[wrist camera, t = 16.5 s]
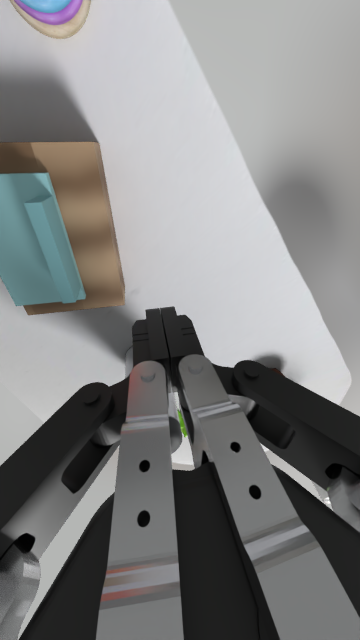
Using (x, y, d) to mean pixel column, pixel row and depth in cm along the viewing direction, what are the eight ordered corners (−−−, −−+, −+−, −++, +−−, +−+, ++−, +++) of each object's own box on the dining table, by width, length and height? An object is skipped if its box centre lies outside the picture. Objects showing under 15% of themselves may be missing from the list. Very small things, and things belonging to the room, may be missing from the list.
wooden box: (124, 286, 40) (124, 304, 35) (40, 294, 38) (28, 315, 33) (99, 143, 28) (93, 141, 23) (-27, 144, 26) (-62, 143, 21)
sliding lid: (86, 295, 33) (80, 315, 29) (18, 302, 31) (3, 323, 27) (48, 172, 24) (32, 177, 20) (-48, 174, 22) (-86, 180, 18)
